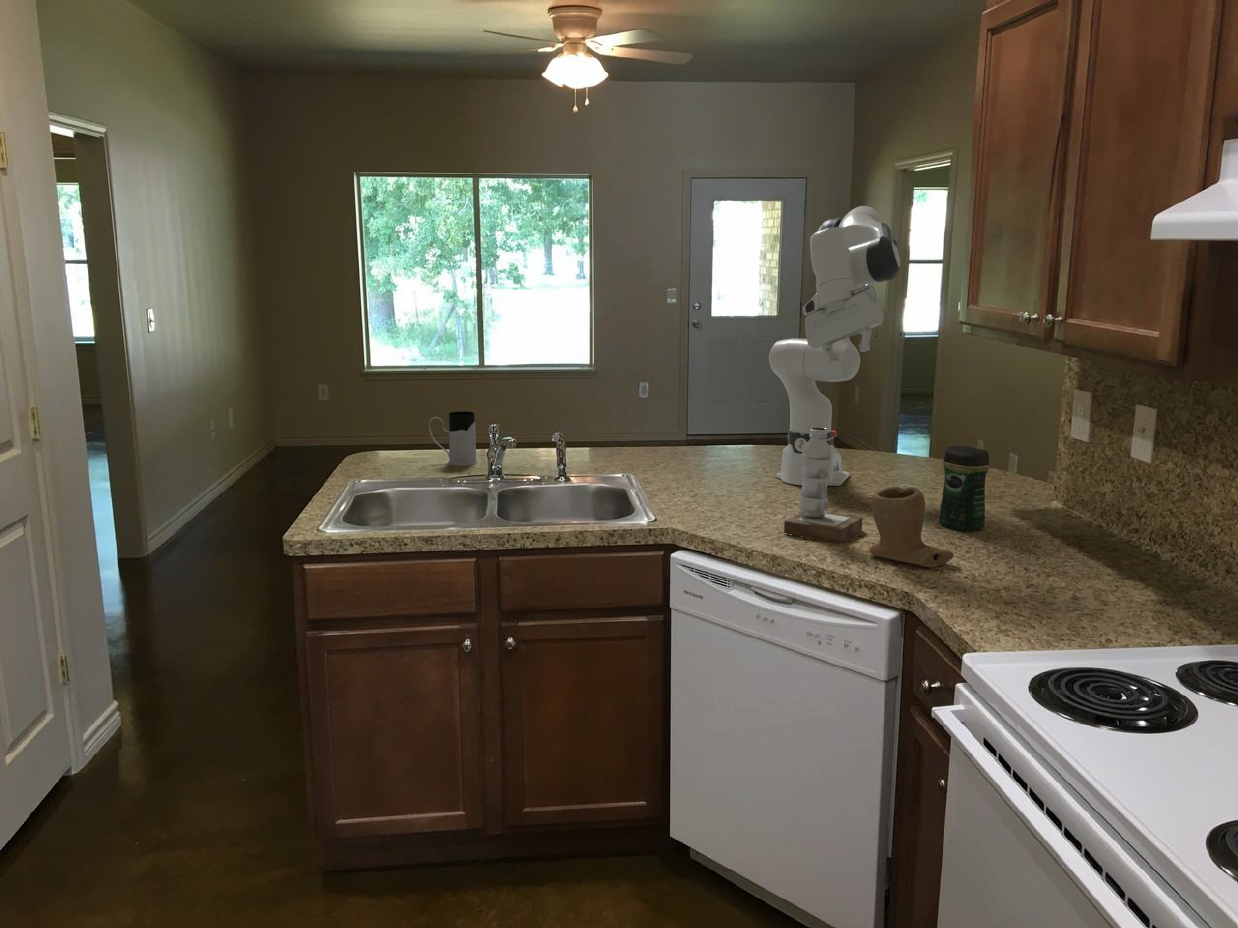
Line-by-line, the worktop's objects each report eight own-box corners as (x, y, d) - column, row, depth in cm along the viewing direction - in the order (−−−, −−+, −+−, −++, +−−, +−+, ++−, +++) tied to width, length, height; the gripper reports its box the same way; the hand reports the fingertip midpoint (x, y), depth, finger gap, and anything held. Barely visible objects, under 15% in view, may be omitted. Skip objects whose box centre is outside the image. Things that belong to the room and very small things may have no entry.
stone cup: (855, 558, 198) (859, 486, 195) (889, 547, 206) (894, 478, 203) (920, 576, 187) (926, 500, 184) (954, 564, 194) (960, 491, 191)
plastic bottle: (810, 522, 214) (816, 432, 209) (791, 514, 219) (797, 427, 215) (833, 519, 216) (840, 430, 212) (814, 511, 222) (820, 425, 218)
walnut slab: (807, 521, 226) (808, 508, 225) (861, 530, 219) (862, 516, 218) (784, 534, 216) (784, 520, 215) (839, 543, 208) (840, 529, 208)
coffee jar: (990, 529, 221) (997, 448, 217) (967, 534, 217) (974, 452, 213) (955, 519, 229) (961, 442, 225) (932, 524, 225) (938, 445, 221)
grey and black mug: (475, 465, 287) (474, 415, 284) (427, 465, 287) (425, 415, 284) (479, 460, 295) (478, 411, 292) (433, 459, 295) (431, 410, 292)
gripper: (883, 282, 212) (894, 343, 210) (816, 311, 229) (826, 368, 227) (863, 281, 208) (875, 343, 207) (797, 310, 225) (807, 368, 223)
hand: (849, 356), depth 217 cm, fingers open, 8 cm apart
